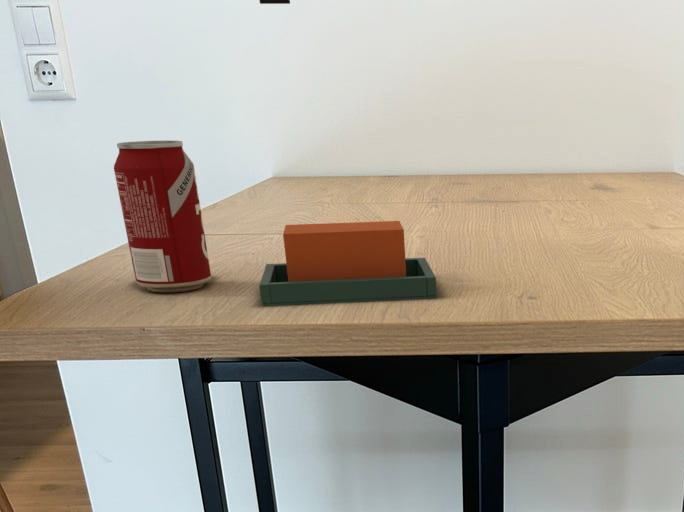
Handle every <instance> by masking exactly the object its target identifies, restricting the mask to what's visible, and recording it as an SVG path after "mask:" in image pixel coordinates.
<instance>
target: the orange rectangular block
mask: <svg viewBox="0 0 684 512" xmlns="http://www.w3.org/2000/svg"><path fill="white" fill-rule="evenodd" d="M282 238H283V247H284V254H285V255H284V256H285V263H286V264H287V272H288V281H289V282H297V281H320V280H343V279H366V278H389V277H406V262H405V258H406V246H405V245H406V244H405V230H404V227H403V225H402V223H401V221H400V220H383V221H382V220H381V221H358V222H329V223H303V224H301V223H300V224H285V226H284V230H283V234H282Z"/></svg>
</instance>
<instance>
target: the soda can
mask: <svg viewBox="0 0 684 512" xmlns="http://www.w3.org/2000/svg"><path fill="white" fill-rule="evenodd" d="M116 147H117V148H118V154H117V157H116V159H115V163H114V164H113V172H114V177H115V182H116V187H117V191H118V196H119V203H120V207H121V212H122V218H123V222H124V227H125V234H126V237H127V243H128V247H129V252H130V257H131V262H132V268H133V273H134V278H135V283H136V284H137V285H138V286H141V287H144V288H146V290H148V291H149V292H153V293H161V294H162V293H163V294H164V293H165V294H167V293H168V294H170V293H171V294H172V293H183V292H190V291H195V290H198V289H201V288H202V287H204V284H205V283H207V282H209V281H210V280H211V279H212V273H211V267H210V261H209V255H208V254H209V253H208V248H207V242H206V241H207V240H206V233H205V228H204V223H203V216H202V215H203V214H202V209H201V203H200V197H199V196H200V195H199V190H198V184H197V177H196V171H195V164H194V163H193V161H192V160H191V158H190V157H189V155H187V153H186V151H185V150H184V148H183V147H184V142H183V141H182V140H138V141H137V140H136V141H124V142H117V143H116Z"/></svg>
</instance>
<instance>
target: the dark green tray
mask: <svg viewBox="0 0 684 512" xmlns="http://www.w3.org/2000/svg"><path fill="white" fill-rule="evenodd" d="M405 262H406V277H389V278H366V279H343V280H320V281H297V282H289V281H288V272H287V264H286V262H284V263H281V262H280V263H266V264H265V267H264V270H263V273H262V277H261V279H260V282H259V285H258V286H259V293H260V302H261V306H262V307H279V306H281V307H282V306H299V305H300V306H301V305H322V304H324V305H325V304H346V303H366V302H367V303H368V302H387V301H389V302H390V301H408V300H409V301H410V300H412V301H413V300H431V299H433V300H434V299H437V277H436V275H435V273H434V272H433V270H432V268H431V266H430V264H429V262H428V261H427V259H426V257H405Z"/></svg>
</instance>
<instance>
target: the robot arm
mask: <svg viewBox="0 0 684 512" xmlns="http://www.w3.org/2000/svg"><path fill="white" fill-rule="evenodd" d="M259 4H260V5H290V4H291V0H259Z"/></svg>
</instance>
